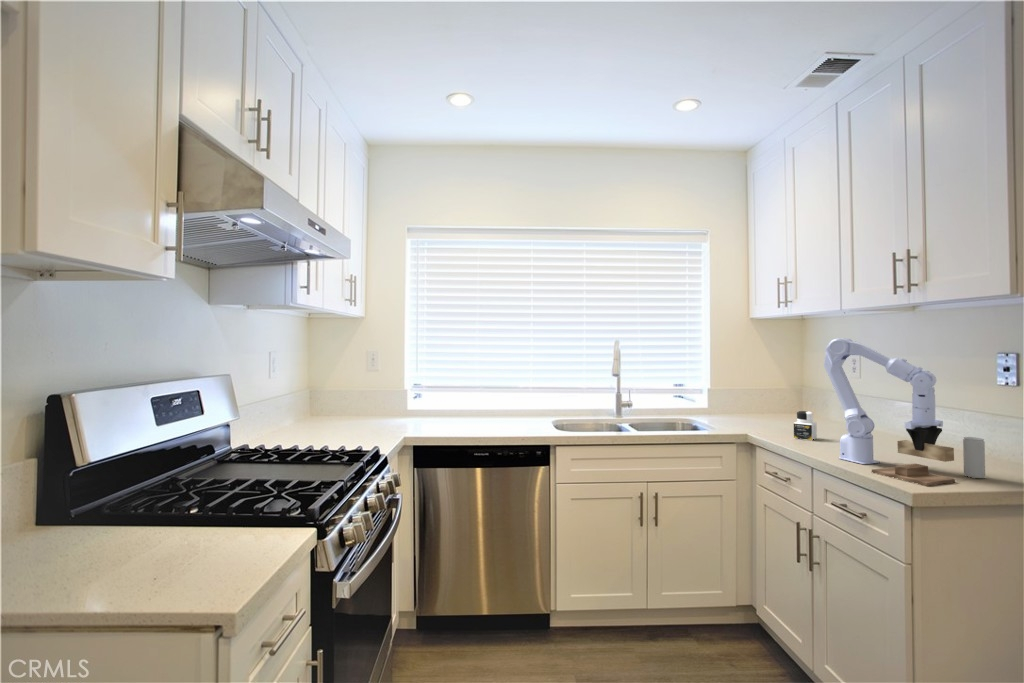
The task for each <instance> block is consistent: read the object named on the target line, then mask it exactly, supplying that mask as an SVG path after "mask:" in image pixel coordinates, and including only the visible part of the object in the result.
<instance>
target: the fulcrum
mask: <svg viewBox="0 0 1024 683" xmlns="http://www.w3.org/2000/svg"><path fill="white" fill-rule="evenodd" d="M872 472H873V473H872ZM871 473H872V474H875V473H877V474H876V475H879V474H881V475H880V476H883V475H885V476H884V477H887V476H889V477H888V478H891V477H894V478H893V479H895V478H898V479H897V480H899V479H903V480H906V481H905V482H907V481H910V482H909V483H911V482H914V483H913V484H915V483H918V484H917V485H919V484H921V485H920V486H923V485H925V487H930V486H929V485H932V486H936V485H935V484H940V485H944V484H943V483H947V484H952V483H951V482H954V483H956V479H955V478H953V477H948V476H943V475H938V474H935V473H931V472H929V466H928V465H925V464H919V463H907V464H900V465H895V466H891V467H883V468H873V469H871ZM903 480H902V481H903Z"/></svg>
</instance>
